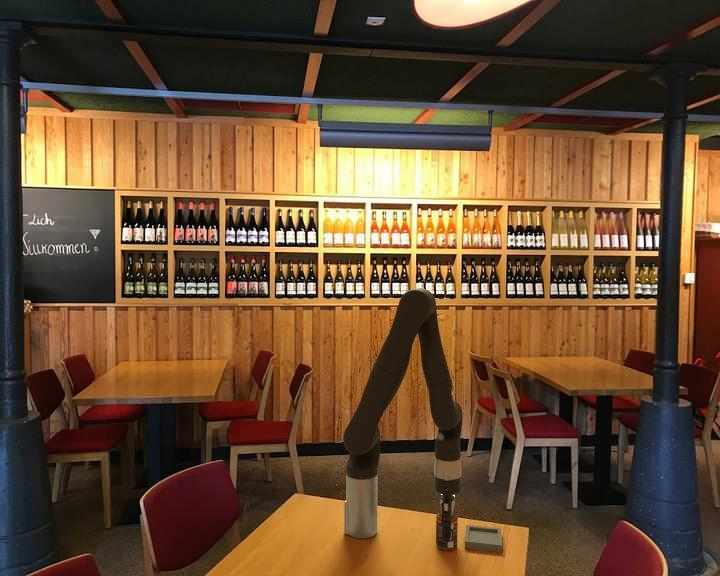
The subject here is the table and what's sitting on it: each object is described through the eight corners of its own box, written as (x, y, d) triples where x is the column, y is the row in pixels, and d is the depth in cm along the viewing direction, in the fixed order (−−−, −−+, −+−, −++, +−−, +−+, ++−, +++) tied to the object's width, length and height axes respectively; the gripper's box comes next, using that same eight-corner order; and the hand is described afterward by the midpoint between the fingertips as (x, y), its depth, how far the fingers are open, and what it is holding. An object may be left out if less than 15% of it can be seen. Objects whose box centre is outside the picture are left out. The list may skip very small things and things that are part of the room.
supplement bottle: (457, 552, 151) (457, 512, 151) (435, 550, 153) (435, 510, 152) (457, 542, 157) (458, 503, 157) (436, 540, 158) (436, 501, 158)
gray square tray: (464, 548, 154) (464, 541, 154) (466, 531, 164) (466, 524, 163) (501, 552, 152) (502, 545, 152) (500, 535, 161) (501, 528, 161)
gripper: (436, 463, 162) (436, 517, 162) (431, 482, 148) (431, 541, 149) (462, 465, 160) (462, 520, 161) (460, 484, 146) (460, 544, 147)
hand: (447, 530), depth 155 cm, fingers open, 8 cm apart
